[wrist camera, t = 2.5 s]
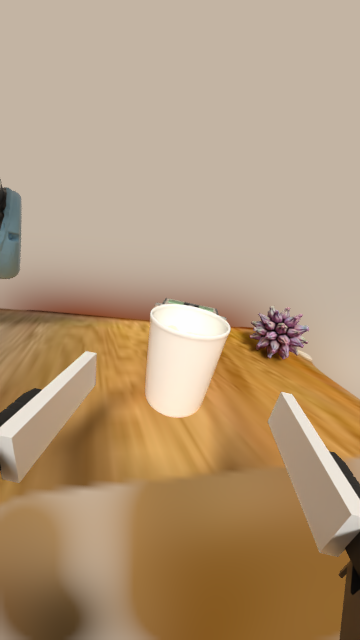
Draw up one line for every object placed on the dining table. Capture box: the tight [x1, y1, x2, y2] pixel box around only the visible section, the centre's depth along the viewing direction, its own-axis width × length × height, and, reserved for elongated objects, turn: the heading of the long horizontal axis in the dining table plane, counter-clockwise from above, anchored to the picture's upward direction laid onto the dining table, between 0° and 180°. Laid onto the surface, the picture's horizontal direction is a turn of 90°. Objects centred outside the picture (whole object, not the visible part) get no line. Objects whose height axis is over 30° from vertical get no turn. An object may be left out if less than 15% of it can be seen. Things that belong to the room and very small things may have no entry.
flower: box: [250, 306, 309, 359], centre depth 43 cm, size 12×12×12 cm
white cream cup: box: [145, 304, 231, 418], centre depth 26 cm, size 10×10×12 cm
